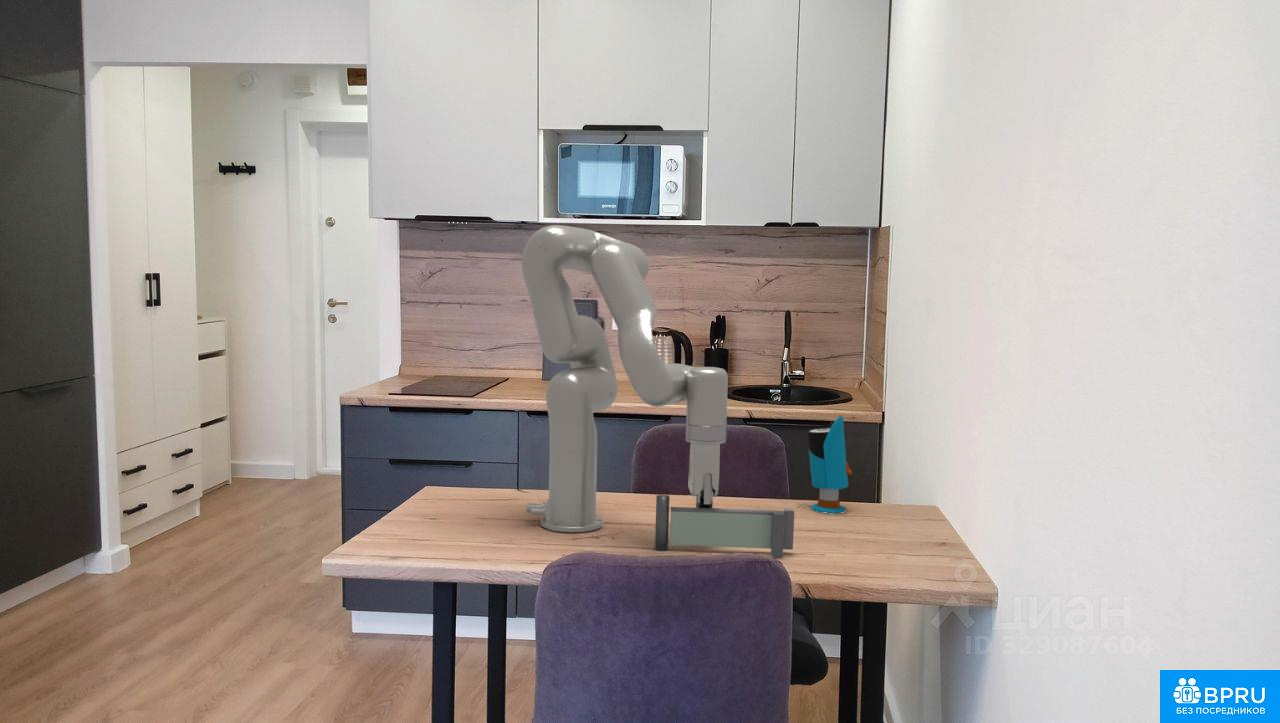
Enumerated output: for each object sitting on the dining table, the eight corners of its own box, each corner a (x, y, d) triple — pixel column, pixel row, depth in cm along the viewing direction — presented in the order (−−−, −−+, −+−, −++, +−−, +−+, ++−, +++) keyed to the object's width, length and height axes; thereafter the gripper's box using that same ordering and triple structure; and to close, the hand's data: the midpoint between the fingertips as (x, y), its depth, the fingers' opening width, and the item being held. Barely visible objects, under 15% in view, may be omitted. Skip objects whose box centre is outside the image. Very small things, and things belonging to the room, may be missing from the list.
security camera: (808, 411, 209) (854, 413, 207) (804, 503, 211) (849, 507, 209) (807, 416, 201) (855, 418, 199) (803, 512, 202) (850, 516, 200)
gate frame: (654, 550, 170) (655, 497, 169) (655, 546, 173) (657, 494, 172) (782, 558, 167) (785, 504, 167) (782, 554, 170) (784, 501, 169)
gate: (669, 545, 170) (670, 506, 170) (669, 542, 172) (670, 504, 171) (792, 549, 170) (794, 511, 169) (791, 547, 171) (793, 509, 171)
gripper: (682, 427, 180) (680, 519, 181) (689, 439, 165) (686, 540, 166) (721, 427, 180) (718, 520, 182) (731, 440, 165) (728, 541, 167)
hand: (703, 529), depth 174 cm, fingers closed
